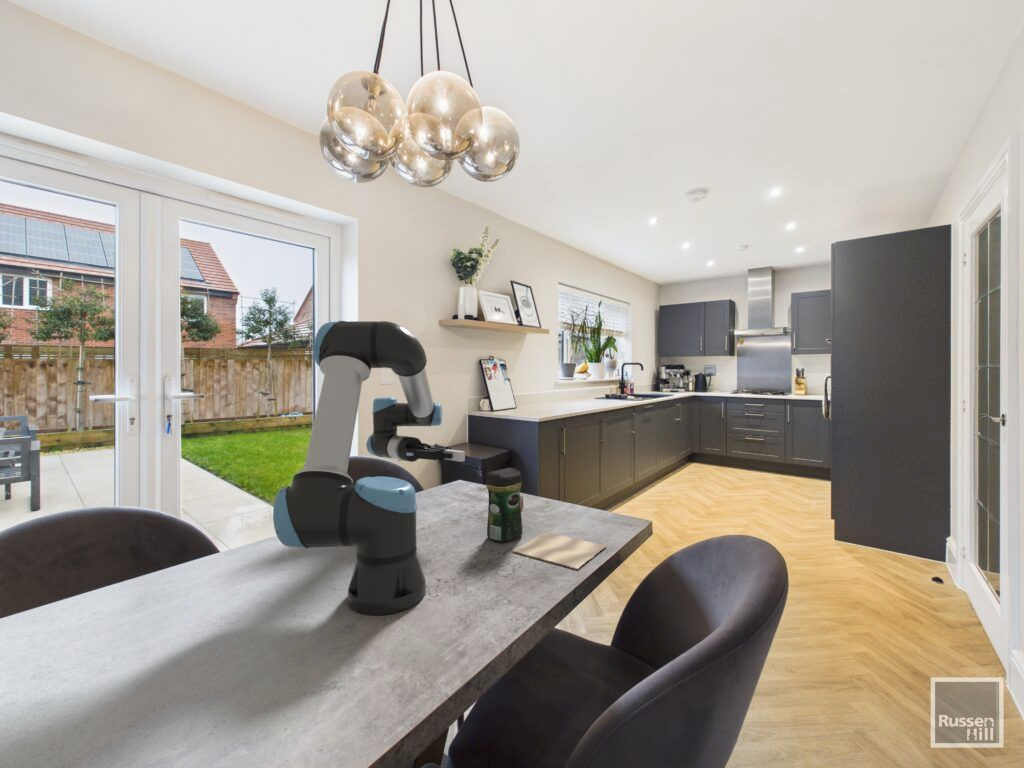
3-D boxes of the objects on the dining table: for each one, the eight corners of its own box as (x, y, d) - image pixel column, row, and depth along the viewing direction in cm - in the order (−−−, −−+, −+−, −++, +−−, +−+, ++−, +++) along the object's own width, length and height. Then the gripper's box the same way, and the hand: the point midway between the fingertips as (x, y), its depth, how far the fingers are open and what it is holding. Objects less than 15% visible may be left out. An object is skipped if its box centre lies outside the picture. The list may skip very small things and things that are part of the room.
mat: (512, 552, 111) (512, 550, 111) (545, 533, 124) (545, 531, 124) (577, 570, 101) (577, 568, 101) (606, 547, 114) (606, 545, 114)
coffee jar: (506, 529, 128) (506, 464, 128) (527, 535, 123) (526, 468, 122) (481, 538, 121) (481, 470, 121) (502, 545, 116) (501, 474, 115)
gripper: (421, 456, 145) (477, 465, 132) (389, 464, 135) (447, 474, 121) (420, 433, 145) (477, 440, 132) (389, 439, 134) (447, 446, 121)
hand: (463, 456), depth 127 cm, fingers closed
